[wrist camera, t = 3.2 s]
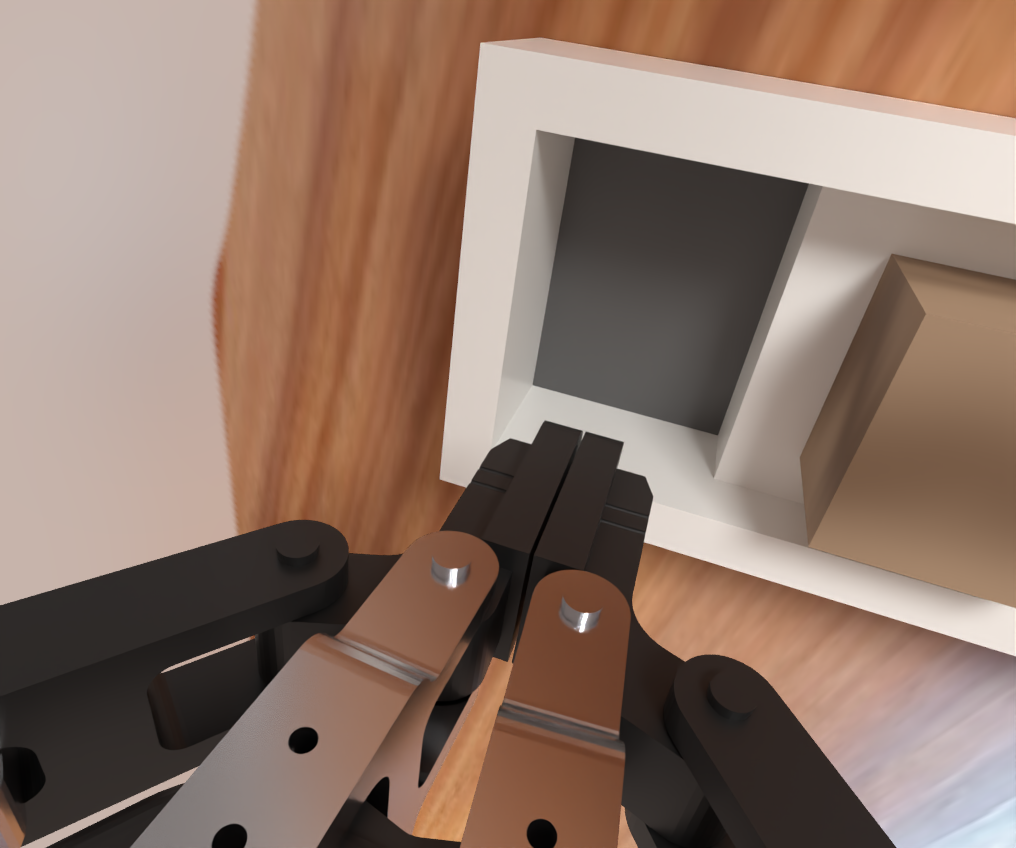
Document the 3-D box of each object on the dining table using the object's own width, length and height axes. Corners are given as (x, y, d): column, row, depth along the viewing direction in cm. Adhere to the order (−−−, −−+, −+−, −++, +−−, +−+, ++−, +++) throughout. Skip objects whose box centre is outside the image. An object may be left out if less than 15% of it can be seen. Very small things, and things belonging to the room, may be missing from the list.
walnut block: (891, 253, 16) (926, 313, 13) (1178, 313, 15) (1296, 397, 12) (799, 457, 19) (808, 546, 16) (1029, 519, 18) (1089, 629, 15)
